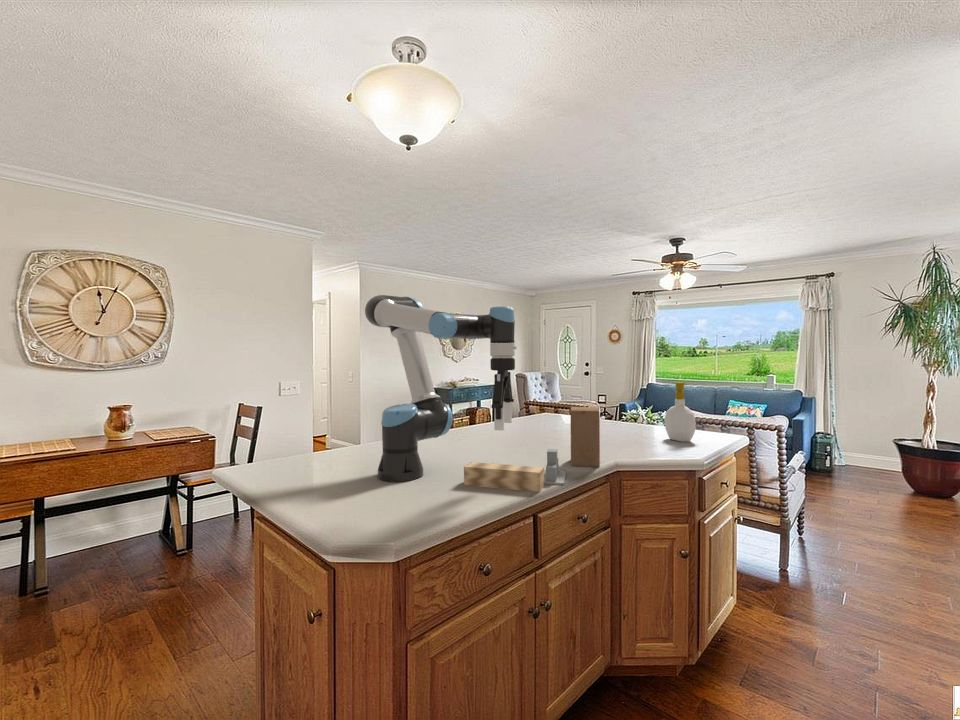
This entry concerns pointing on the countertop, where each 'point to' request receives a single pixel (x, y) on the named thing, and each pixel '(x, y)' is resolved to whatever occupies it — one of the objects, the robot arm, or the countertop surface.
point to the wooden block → (585, 436)
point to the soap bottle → (680, 418)
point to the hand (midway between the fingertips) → (503, 426)
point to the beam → (504, 476)
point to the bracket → (553, 469)
